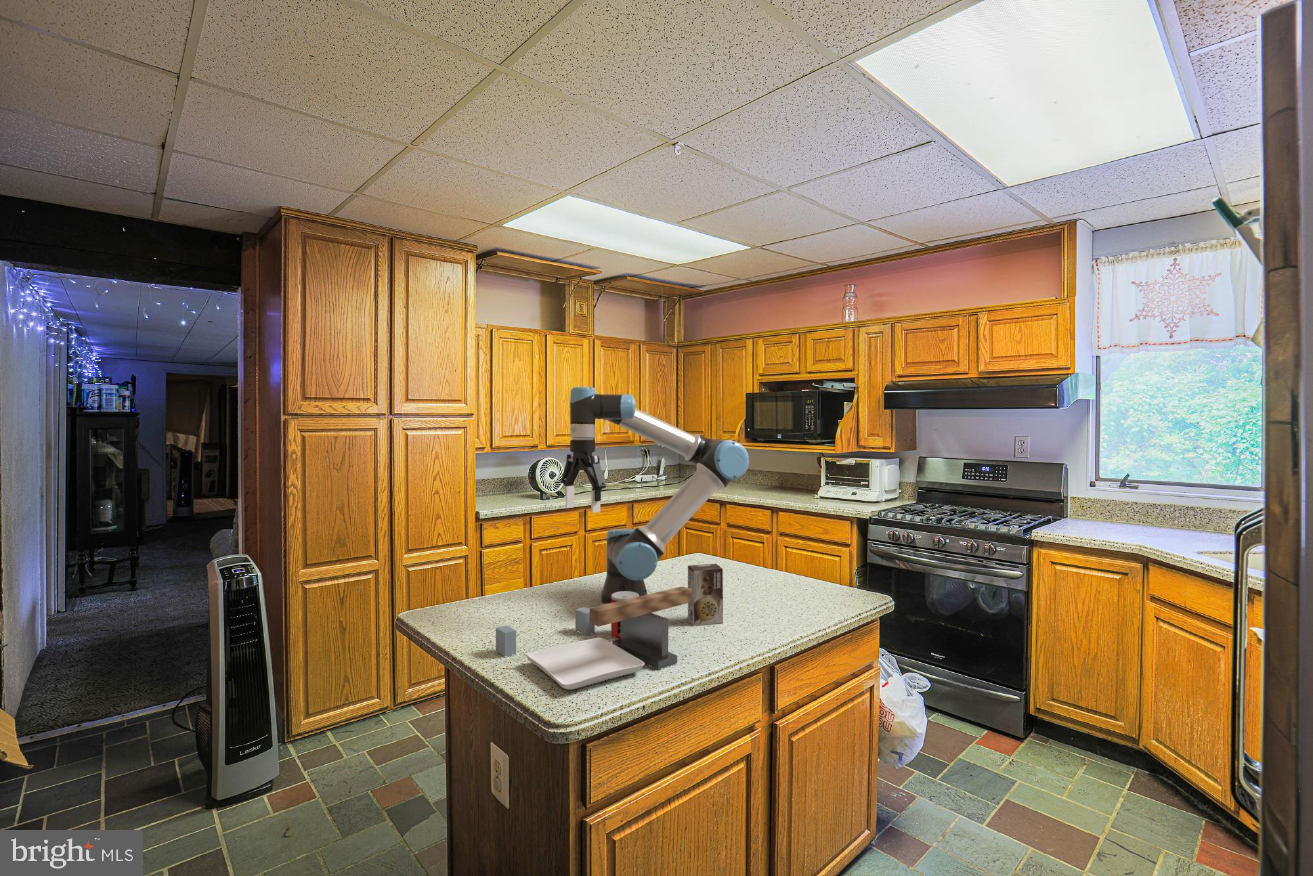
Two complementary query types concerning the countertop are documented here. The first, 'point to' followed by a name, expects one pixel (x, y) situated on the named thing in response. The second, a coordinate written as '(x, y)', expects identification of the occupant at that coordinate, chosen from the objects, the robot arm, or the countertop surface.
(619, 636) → the canned food
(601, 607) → the walnut bar
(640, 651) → the ridge
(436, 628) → the countertop surface
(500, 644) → the support blocks
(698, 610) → the coffee box
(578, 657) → the salad plate
